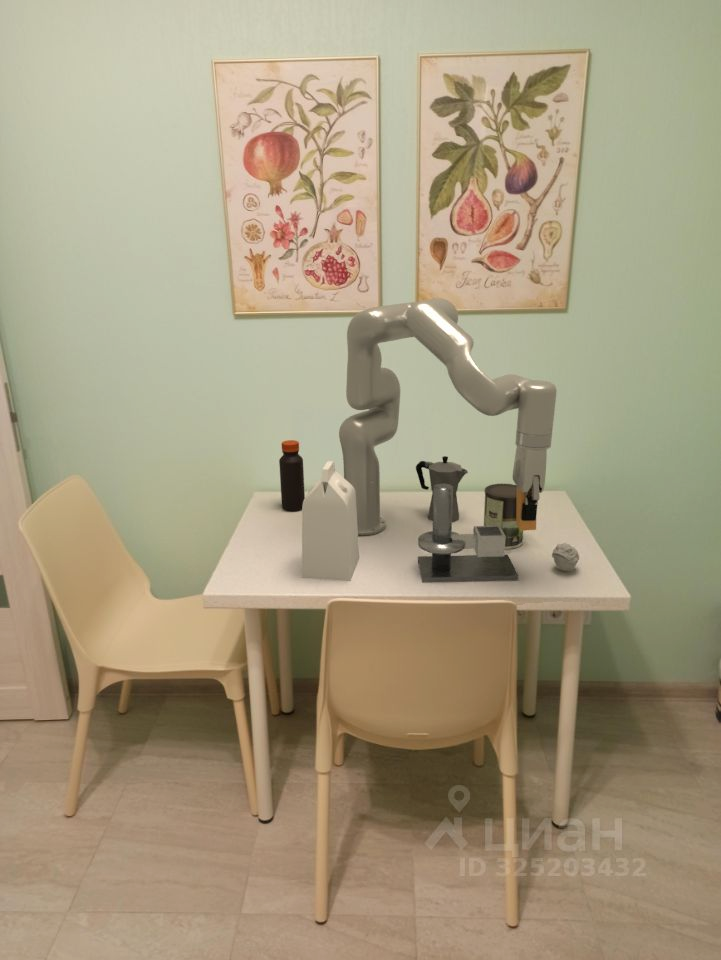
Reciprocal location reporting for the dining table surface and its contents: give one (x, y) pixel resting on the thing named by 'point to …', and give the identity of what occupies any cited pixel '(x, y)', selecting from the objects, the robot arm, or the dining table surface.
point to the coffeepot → (442, 480)
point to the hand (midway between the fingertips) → (526, 515)
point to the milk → (330, 528)
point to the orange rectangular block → (521, 524)
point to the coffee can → (503, 512)
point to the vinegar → (291, 477)
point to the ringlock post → (461, 548)
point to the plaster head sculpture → (565, 557)
